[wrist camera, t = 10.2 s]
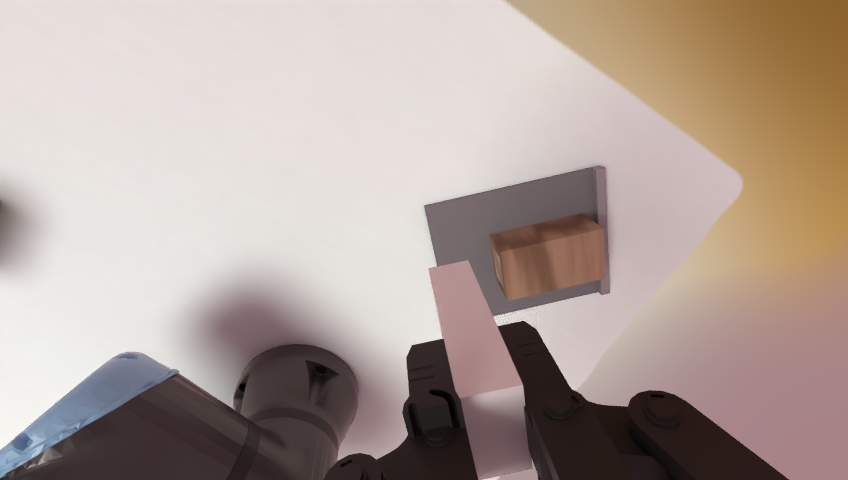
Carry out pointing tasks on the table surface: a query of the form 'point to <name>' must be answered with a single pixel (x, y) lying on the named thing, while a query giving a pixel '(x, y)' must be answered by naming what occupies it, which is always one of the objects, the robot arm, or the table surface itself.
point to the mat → (513, 208)
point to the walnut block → (548, 256)
